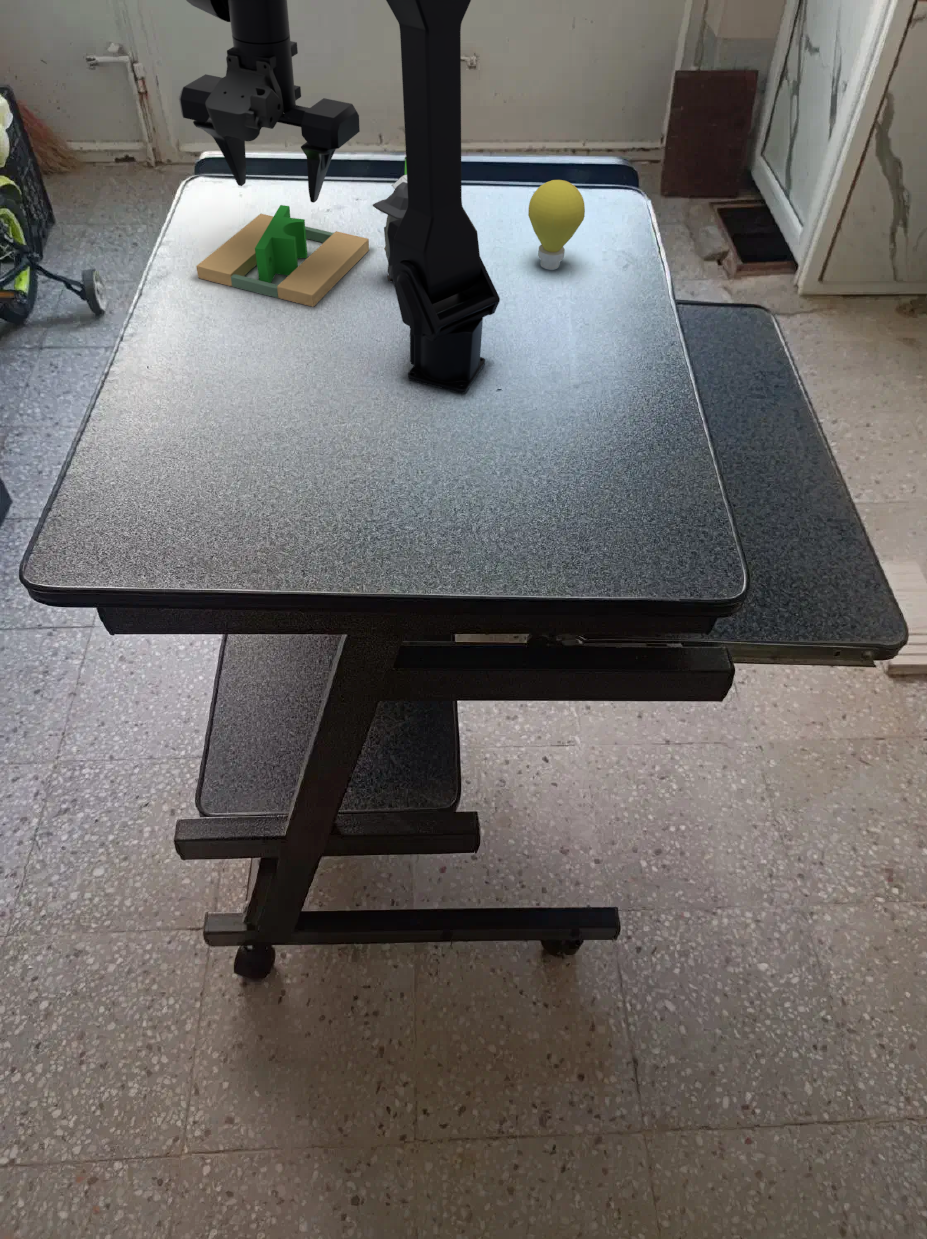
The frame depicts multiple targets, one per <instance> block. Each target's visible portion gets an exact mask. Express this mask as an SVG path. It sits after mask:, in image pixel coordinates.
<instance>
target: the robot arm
mask: <svg viewBox="0 0 927 1239" xmlns="http://www.w3.org/2000/svg"><path fill="white" fill-rule="evenodd" d="M185 1H186V2H187V3H188V4H190V5H191V6H193V7H194V8H197V9H199V10H201V11H203V12H205V13H207V14H209V15H212V16H213V17H216V18H217V19H219V20H221V21H224V22H226V23H230V29H231V37H232V45H233V47H230V48H229V49H227V50H226V55H227V56H226V58H225V60H226V71H225V76H223V77H222V76H216V75H212V74H207V73H205V74H203V75H201V76H200V77H198V78H196V79H195V80H193V81H191V82H190V83H188V84H186V85H184V86H183V87H182V88H181V90H180V93H179V98H178V101H179V102H178V103H179V106H180V113H181V116H182V118H183V119H186V120H187V119H188V120H192V124H193V126H194V127H196V128H198V129H201V130H203V131H204V132H206V133H207V134H208V135H209V136H210V137H212V138H213V140H214V142H215V143H216V145H217V147H218V148H219V150H220V152H221V154H222V155H223V158H224V160H225V162H226V163H227V166H228V168H229V170H230V172H231V173H232V176H233V179H234V181H235V182H236V184H237V186H239V187H243V186H244V185H245V184H247V183H246V182H247V158H246V157H247V156H246V155H247V154H246V142H253V141H254V140H256V139H258V137H259V136H260V133H261V129H262V128H265V129H270V130H273V129H274V128H275V127H276V125H277V123H279V124H284V125H288V126H294V127H297V128H300V131H301V137H302V138H303V139H304V141H306V142H304V143H303V144H302V145H301V146H300V149H301V150H302V152H303V153H304V156H305V157H306V169H307V186H308V189H307V190H308V195H309V201H310V203H313V204H314V203H316V202H317V201H318V200H319V197H320V194H321V191H322V187H323V184H324V182H325V179H326V177H327V176H326V175H327V172H328V170H329V167H330V164H331V162H332V158H333V156H334V154H335V152H336V150H338V149H340V148H341V147H343V146H344V145H345V144H346V143H348V142H349V141H350V140H351V139H352V138H354V137H355V136H357V134H359V133H360V132H361V130H360V114H359V112H358V111H357V109H356V107H355V105H354V104H353V103H349V102H345V101H340V100H335V99H330V98H326V97H323V98H321V99H320V100H319V101H318V102H316V103H315V104H313V105H311V106H310V107H307V106H302V105H297V102H296V101H297V100H299V99H300V98H301V97H302V90H301V88H302V87H301V86H300V85H295V78H294V66H293V57H294V56H297V55H298V54H299V51H298V42H297V41H292V40H291V34H290V20H289V9H288V8H289V7H288V0H185ZM385 1H386V3H387V5H388V6H389V8H390V10H391V12H392V14H393V16H394V17H395V19H396V21H397V23H398V28H399V33H400V34H399V37H400V39H399V40H400V57H401V58H400V59H401V60H400V61H401V78H402V80H401V81H402V96H403V97H402V99H403V100H402V101H403V102H402V103H403V120H404V142H405V156H406V167H407V188H408V207H407V210H406V212H405V214H404V217H403V218H400V219H397V220H395V221H392V222H390V223H389V226H388V231H387V234H388V240H389V247H390V257H389V261H388V260H387V266H388V265H389V266H391V265H392V273H393V281H392V283H393V285H394V289H395V290H394V291H395V294H396V295H395V296H396V298H397V304H398V308H399V312H400V317H401V320H402V323H403V324H404V325H406V326H407V327H409V363H410V365H411V366H412V367H411V368H410V370H409V371H408V372H407V379H408V380H410V381H413V382H417V383H420V384H423V385H429V386H432V387H436V388H440V389H444V390H447V391H451V392H454V393H458V394H465V393H467V392H468V390H469V389H470V387H471V385H472V384H473V383H474V381H475V380H476V378H477V377H478V375H479V373H480V372H481V370H482V369H483V368H484V366H485V365H486V359H485V358H484V357H483V356H481V351H482V350H481V349H482V338H483V337H482V336H483V325H484V324H483V322H484V318H485V317H487V316H492V315H494V314H495V313H496V311H497V308H498V306H499V303H500V300H501V298H500V296H499V293H498V290H497V289H496V287H495V285H494V283H493V281H492V279H491V276H490V275H489V272H488V270H487V268H486V266H485V264H484V262H483V260H482V258H481V254H480V253H481V252H480V244H479V235H478V234H479V233H478V231H477V229H476V227H475V225H474V223H473V221H472V220H471V218H470V216H469V215H468V213H467V211H466V210H465V208H464V207H463V200H462V197H463V196H462V195H463V194H462V192H463V190H462V53H461V52H462V50H461V48H462V46H461V45H462V44H461V43H462V40H461V39H462V38H461V35H462V34H461V32H462V22H463V20H464V18H465V15H466V13H467V11H468V8H469V6H470V3H471V2H472V0H385Z"/></svg>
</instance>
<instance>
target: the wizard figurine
mask: <svg viewBox="0 0 927 1239" xmlns="http://www.w3.org/2000/svg"><path fill="white" fill-rule="evenodd" d="M372 207H374V208H375V209H376V210H378V211H379V212H381V213H383V214H385V215H387V216H386V222H385V226H384V227H383V235H384V247H383V250H384V251H385V256H386V257H385V258H386V259H387V262H388V261H389V257H390V247H389V240H388V234H387V231H388V226H389V223H390V222H392V221H395V220H397V219H400V218H403V217H404V214H405V212H406V210H407V207H408V188H407V183H406V182H402V183H401V184H399V185H398V186H397V187H396V189H394V190H393V191H392V193H391V194H390V195H389V196H388V197H387V198H386V199H382V200H378V201H377V202H374V203H373V204H372ZM386 279H387V281H388V282H389V283H390V282H393V273H392V265H391V266H389V265H388V264H387V277H386Z"/></svg>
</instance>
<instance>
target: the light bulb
mask: <svg viewBox="0 0 927 1239" xmlns="http://www.w3.org/2000/svg"><path fill="white" fill-rule="evenodd" d="M585 214H586V207H585V199H584V197H583V195H582V193H581V192H580V190H579V189H578V187H576V186H575V185H574V184H573V183H571V182H569V181H567V180H564V179H563V180H562V179H552V180H549V181H546V182H544V183H542V184H541V185H540V186H539V187H538V188H537V189H536V190H534V193H533V194H532V196H531V197H530V201H529V204H528V214H527V216H528V218H529V220H530V224H531V227H532V230H533V232H534V234H535V236H536V238H537V239H538V241H539V243H540V245H539V246H538V250H537V251H538V253H537V257H538V258H539V259H540V267H541V268H543V269H545V270H550V271H553V270H557V269H559V267H560V264H561V261H563V260H564V259H565V254H566V252H565V251H566V249H565V248H564V246H565V245H566V244H567V243H568V242H569V241H570V240H571V239H572V238H573V236H574V235H575V233H576V232H577V230H578V229H579V227H580V226H581V224H582V223H583V221H584V219H585Z"/></svg>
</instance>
